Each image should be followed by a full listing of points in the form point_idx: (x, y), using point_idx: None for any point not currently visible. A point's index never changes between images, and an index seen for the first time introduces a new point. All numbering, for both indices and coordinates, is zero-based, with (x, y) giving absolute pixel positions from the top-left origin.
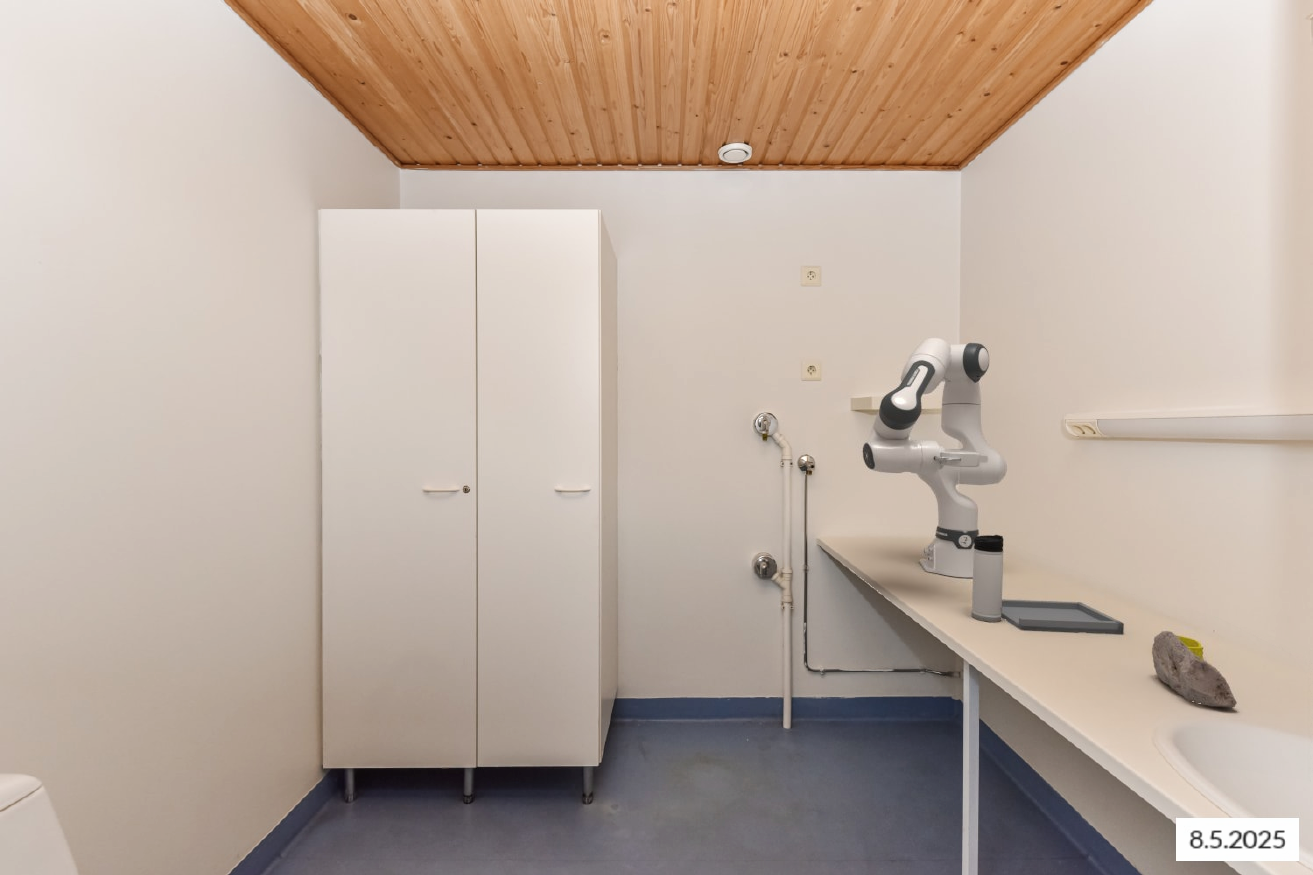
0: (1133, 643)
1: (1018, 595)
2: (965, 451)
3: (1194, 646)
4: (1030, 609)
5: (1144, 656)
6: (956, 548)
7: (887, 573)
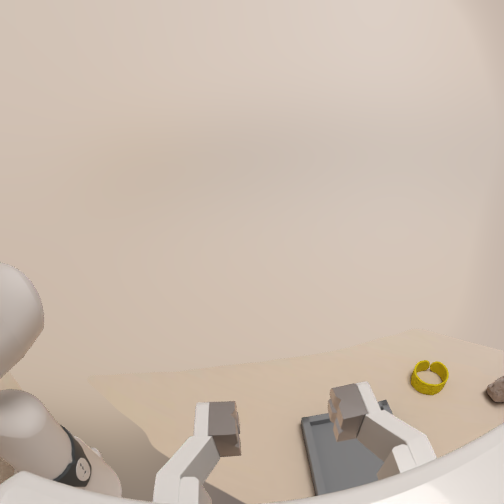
0: (412, 406)
1: (224, 470)
2: (428, 487)
3: (421, 366)
4: (333, 482)
5: (448, 405)
6: (84, 487)
7: None
